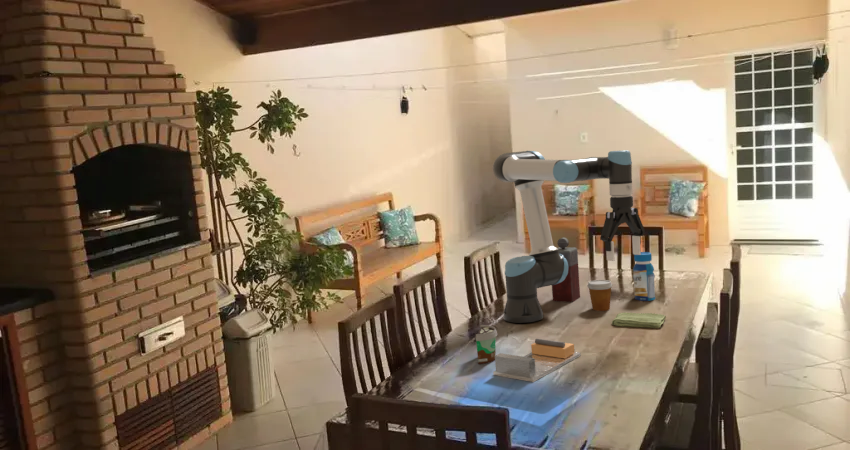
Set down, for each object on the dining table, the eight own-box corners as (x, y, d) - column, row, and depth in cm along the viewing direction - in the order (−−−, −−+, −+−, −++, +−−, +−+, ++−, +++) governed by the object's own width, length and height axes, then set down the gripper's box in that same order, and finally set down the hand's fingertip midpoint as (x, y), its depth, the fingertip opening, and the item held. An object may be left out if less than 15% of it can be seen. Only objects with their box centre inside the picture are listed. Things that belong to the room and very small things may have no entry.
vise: (493, 374, 209) (492, 355, 208) (542, 350, 230) (541, 332, 229) (533, 382, 199) (532, 361, 199) (580, 355, 220) (579, 337, 220)
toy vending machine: (582, 300, 296) (578, 235, 293) (573, 306, 286) (569, 239, 283) (562, 299, 301) (558, 235, 298) (552, 305, 291) (548, 239, 288)
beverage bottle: (658, 302, 281) (656, 253, 279) (637, 304, 282) (635, 255, 280) (652, 298, 290) (650, 250, 288) (631, 299, 290) (629, 252, 288)
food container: (497, 365, 217) (495, 334, 216) (477, 365, 219) (475, 334, 218) (500, 353, 230) (498, 324, 228) (482, 354, 231) (480, 324, 230)
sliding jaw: (531, 353, 223) (530, 339, 222) (541, 348, 227) (540, 334, 227) (565, 358, 215) (564, 344, 214) (574, 353, 219) (573, 339, 219)
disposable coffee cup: (600, 316, 267) (598, 285, 266) (583, 312, 276) (582, 282, 275) (619, 311, 272) (617, 281, 270) (602, 308, 280) (600, 278, 279)
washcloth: (662, 329, 244) (661, 320, 243) (611, 328, 251) (610, 319, 251) (666, 320, 255) (666, 312, 255) (617, 319, 263) (617, 310, 263)
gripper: (605, 200, 226) (607, 264, 229) (653, 192, 240) (656, 252, 243) (587, 199, 233) (590, 261, 235) (636, 192, 247) (638, 251, 249)
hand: (623, 257), depth 239 cm, fingers open, 13 cm apart
